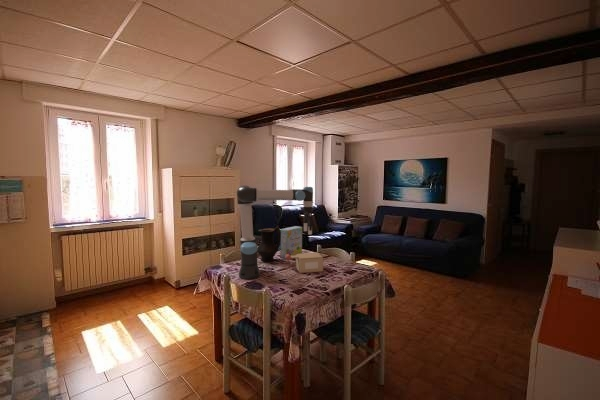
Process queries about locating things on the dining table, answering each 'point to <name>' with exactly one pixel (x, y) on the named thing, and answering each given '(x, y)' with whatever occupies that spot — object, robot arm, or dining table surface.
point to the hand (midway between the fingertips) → (307, 232)
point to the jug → (268, 244)
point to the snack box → (291, 241)
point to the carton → (309, 265)
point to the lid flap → (304, 256)
